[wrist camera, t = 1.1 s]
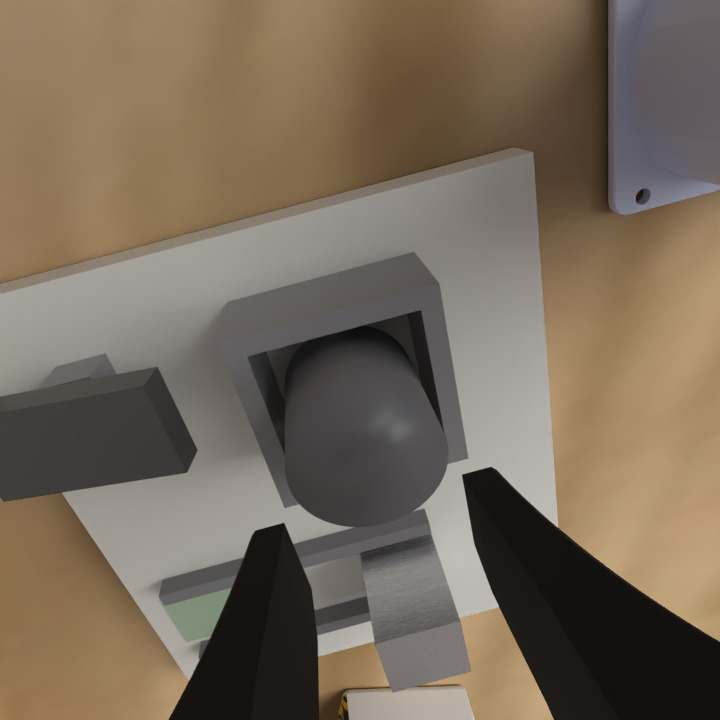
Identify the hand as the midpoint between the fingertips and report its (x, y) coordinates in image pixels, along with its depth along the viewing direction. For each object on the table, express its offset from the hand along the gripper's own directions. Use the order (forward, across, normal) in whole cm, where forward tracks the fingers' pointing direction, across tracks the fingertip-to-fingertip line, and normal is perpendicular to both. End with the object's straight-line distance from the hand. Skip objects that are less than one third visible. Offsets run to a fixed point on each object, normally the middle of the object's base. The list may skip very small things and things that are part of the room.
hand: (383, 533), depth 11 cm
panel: (+9, +2, +5) cm, 11 cm away
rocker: (+6, +8, -1) cm, 10 cm away
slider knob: (+8, 0, +10) cm, 13 cm away
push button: (+6, 0, 0) cm, 6 cm away
